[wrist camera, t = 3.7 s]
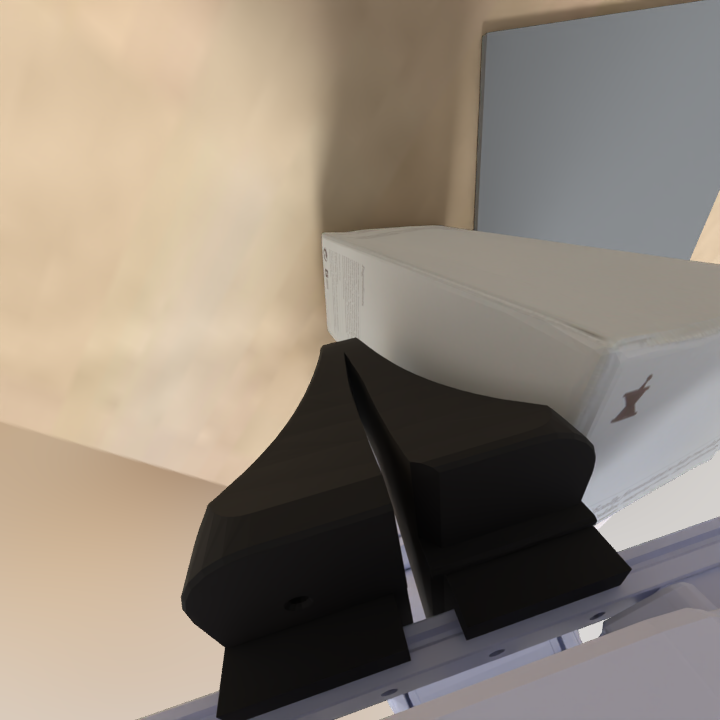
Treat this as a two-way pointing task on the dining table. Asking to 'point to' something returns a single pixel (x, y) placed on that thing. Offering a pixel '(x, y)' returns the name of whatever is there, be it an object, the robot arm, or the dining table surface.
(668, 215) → the mat
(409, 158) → the dining table surface
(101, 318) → the dining table surface
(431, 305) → the skincare box
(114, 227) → the dining table surface
